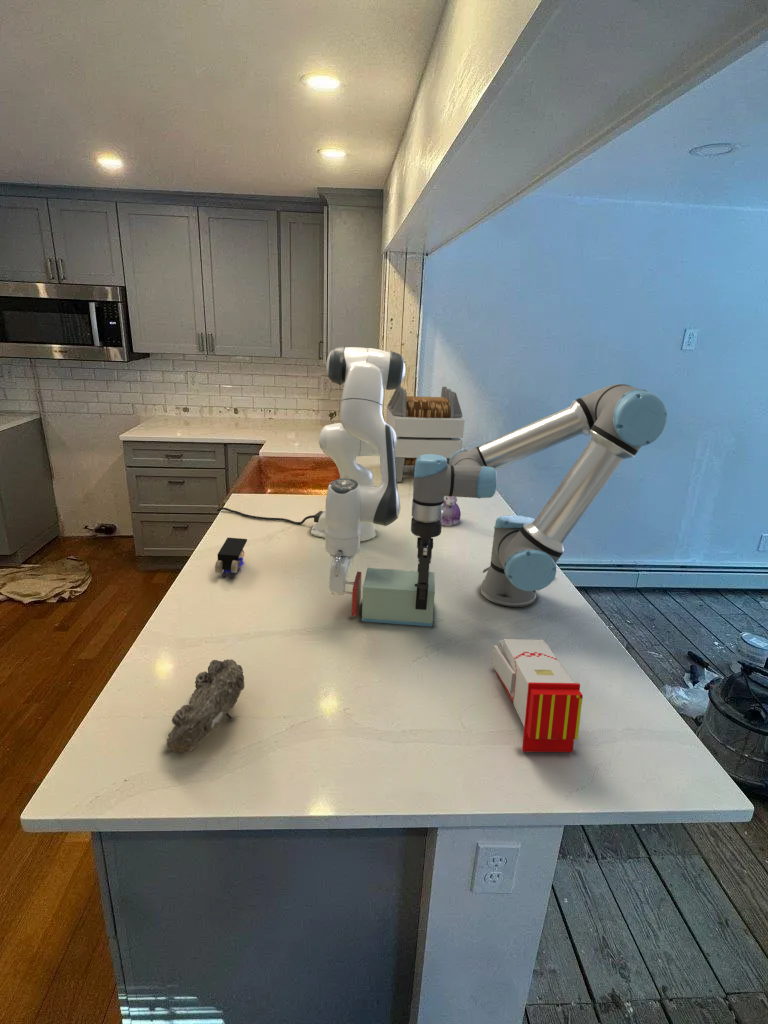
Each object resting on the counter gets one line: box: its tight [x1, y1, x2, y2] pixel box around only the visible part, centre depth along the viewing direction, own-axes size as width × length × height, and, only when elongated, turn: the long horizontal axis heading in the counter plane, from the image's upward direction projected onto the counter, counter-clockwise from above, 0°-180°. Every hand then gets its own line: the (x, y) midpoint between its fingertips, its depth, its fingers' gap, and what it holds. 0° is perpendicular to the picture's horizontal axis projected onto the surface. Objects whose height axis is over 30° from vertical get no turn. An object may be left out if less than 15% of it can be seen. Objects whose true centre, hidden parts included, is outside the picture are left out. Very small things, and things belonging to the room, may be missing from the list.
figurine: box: [441, 496, 462, 527], centre depth 210 cm, size 9×10×15 cm
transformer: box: [385, 385, 465, 483], centre depth 268 cm, size 34×33×41 cm
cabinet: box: [361, 567, 436, 627], centre depth 147 cm, size 18×11×10 cm, turn 86°
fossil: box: [166, 658, 245, 754], centre depth 106 cm, size 22×10×15 cm
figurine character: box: [214, 537, 248, 578], centre depth 166 cm, size 7×8×15 cm
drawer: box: [330, 571, 362, 617], centre depth 147 cm, size 22×10×8 cm, turn 86°
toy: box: [491, 638, 584, 753], centre depth 114 cm, size 12×13×30 cm
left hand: (341, 592), depth 147 cm, fingers closed
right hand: (421, 597), depth 146 cm, fingers closed on cabinet, 11 cm apart
